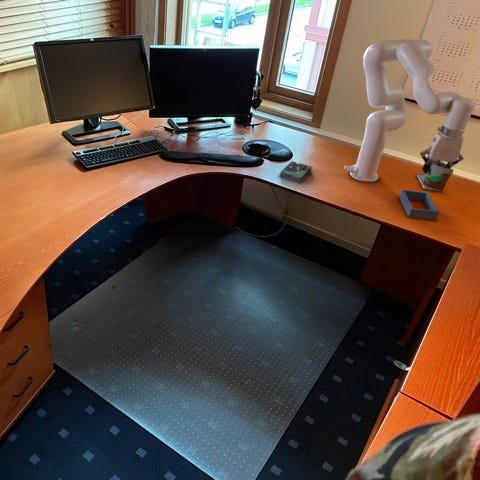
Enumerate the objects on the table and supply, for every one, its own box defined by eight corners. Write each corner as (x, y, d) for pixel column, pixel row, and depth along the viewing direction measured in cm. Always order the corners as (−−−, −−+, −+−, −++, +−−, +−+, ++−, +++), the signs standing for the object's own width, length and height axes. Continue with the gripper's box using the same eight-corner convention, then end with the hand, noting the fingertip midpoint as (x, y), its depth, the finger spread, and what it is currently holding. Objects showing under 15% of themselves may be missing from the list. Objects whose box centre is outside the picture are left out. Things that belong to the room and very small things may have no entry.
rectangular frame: (408, 217, 193) (411, 208, 191) (399, 197, 206) (402, 189, 204) (435, 220, 192) (439, 211, 189) (424, 200, 205) (427, 192, 203)
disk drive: (290, 166, 229) (279, 177, 219) (291, 160, 228) (280, 171, 217) (310, 171, 225) (300, 183, 214) (312, 166, 223) (302, 177, 213)
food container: (414, 177, 197) (422, 155, 191) (428, 177, 198) (437, 155, 192) (429, 192, 187) (439, 170, 182) (444, 192, 188) (454, 169, 182)
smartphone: (433, 175, 224) (441, 189, 211) (432, 177, 224) (440, 191, 212) (416, 173, 225) (424, 187, 212) (416, 175, 225) (423, 189, 213)
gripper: (430, 132, 177) (413, 174, 188) (479, 138, 175) (460, 180, 185) (425, 125, 183) (409, 166, 194) (472, 130, 181) (454, 171, 191)
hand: (434, 173), depth 189 cm, fingers closed on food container, 6 cm apart
